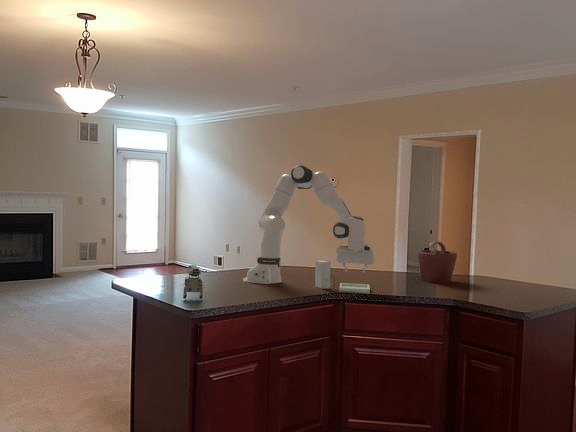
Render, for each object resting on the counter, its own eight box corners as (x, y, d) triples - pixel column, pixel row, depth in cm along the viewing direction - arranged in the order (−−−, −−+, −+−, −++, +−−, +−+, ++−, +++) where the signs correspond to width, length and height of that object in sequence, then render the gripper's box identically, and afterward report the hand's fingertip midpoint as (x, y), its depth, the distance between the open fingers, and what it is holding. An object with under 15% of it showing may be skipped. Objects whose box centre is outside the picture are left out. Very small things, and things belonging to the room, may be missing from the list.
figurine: (203, 295, 261) (204, 264, 260) (201, 299, 249) (202, 268, 249) (185, 294, 260) (185, 264, 260) (182, 299, 249) (183, 267, 248)
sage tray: (339, 291, 282) (339, 287, 281) (340, 286, 297) (340, 282, 297) (369, 293, 280) (369, 289, 279) (368, 288, 295) (369, 284, 295)
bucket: (439, 286, 311) (441, 243, 310) (407, 280, 328) (409, 240, 327) (461, 282, 327) (463, 242, 326) (430, 277, 344) (432, 239, 343)
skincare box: (330, 288, 291) (331, 261, 290) (320, 289, 289) (321, 261, 288) (323, 286, 299) (324, 259, 298) (314, 286, 296) (315, 259, 296)
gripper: (336, 245, 285) (335, 271, 286) (374, 247, 283) (373, 273, 283) (336, 244, 292) (335, 269, 292) (374, 246, 289) (373, 272, 290)
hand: (354, 271), depth 288 cm, fingers open, 8 cm apart
